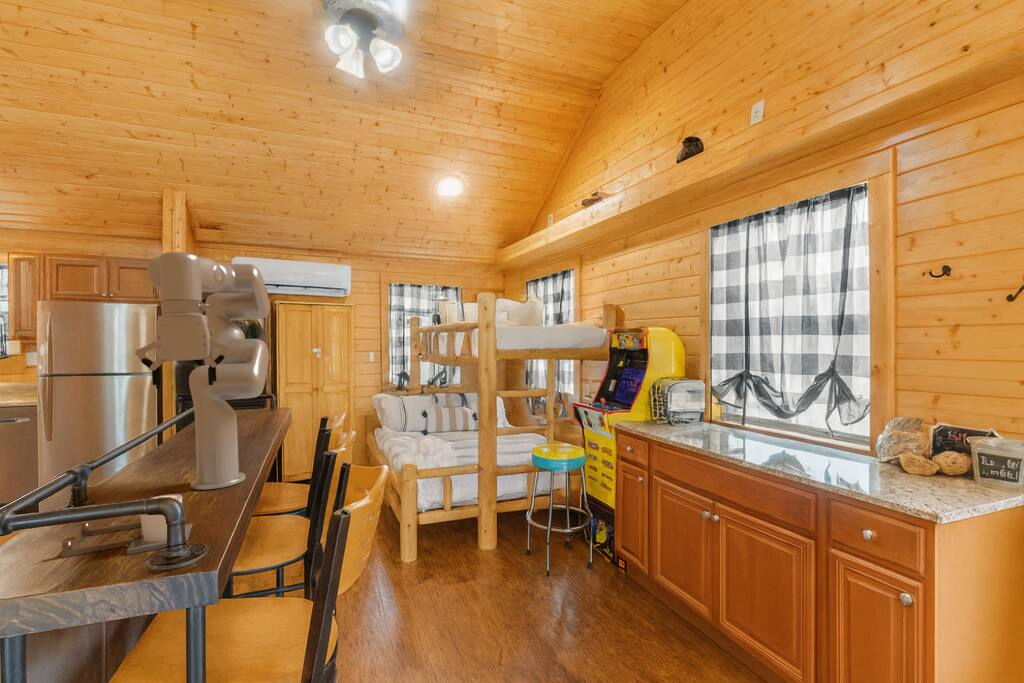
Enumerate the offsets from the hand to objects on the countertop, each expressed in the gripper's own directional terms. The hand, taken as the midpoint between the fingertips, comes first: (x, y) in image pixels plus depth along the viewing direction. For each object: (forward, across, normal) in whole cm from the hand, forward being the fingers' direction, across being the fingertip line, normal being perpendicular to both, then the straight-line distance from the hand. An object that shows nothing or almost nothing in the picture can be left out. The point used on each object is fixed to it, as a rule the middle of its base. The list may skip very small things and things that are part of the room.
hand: (185, 386), depth 109 cm
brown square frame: (+28, +12, +10) cm, 32 cm away
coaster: (+28, +3, +16) cm, 32 cm away
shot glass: (+27, +3, +16) cm, 32 cm away
